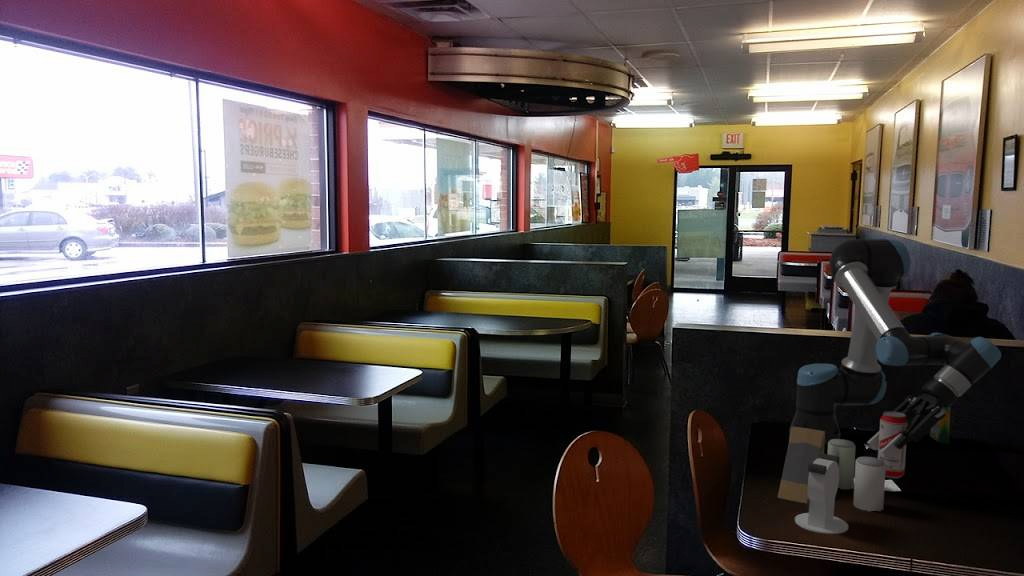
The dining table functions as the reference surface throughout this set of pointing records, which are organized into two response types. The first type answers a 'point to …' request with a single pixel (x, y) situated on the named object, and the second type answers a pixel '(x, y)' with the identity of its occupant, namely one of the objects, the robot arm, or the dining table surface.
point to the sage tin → (844, 461)
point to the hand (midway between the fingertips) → (878, 450)
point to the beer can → (888, 431)
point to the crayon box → (942, 428)
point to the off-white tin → (869, 484)
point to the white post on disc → (822, 497)
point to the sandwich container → (800, 462)
